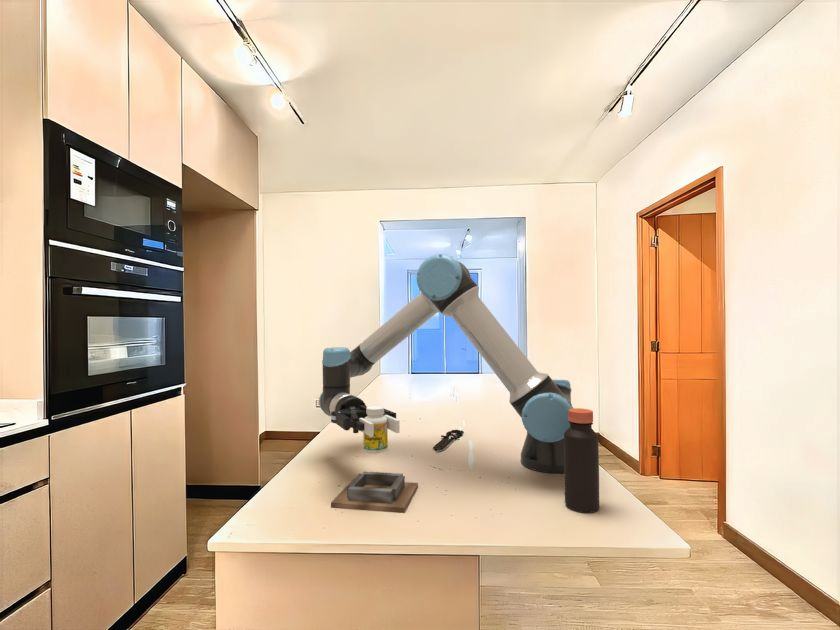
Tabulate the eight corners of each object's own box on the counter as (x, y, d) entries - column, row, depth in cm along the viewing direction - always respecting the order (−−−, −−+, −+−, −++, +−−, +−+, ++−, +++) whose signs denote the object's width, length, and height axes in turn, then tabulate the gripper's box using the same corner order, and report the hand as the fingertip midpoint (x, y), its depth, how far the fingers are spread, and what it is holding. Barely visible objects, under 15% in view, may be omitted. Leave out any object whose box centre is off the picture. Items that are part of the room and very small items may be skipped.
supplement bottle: (389, 447, 101) (389, 405, 101) (385, 454, 95) (385, 410, 95) (366, 446, 101) (366, 405, 101) (361, 453, 96) (360, 409, 96)
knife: (440, 454, 130) (440, 450, 130) (421, 452, 132) (421, 447, 132) (468, 434, 152) (468, 430, 152) (451, 432, 155) (451, 428, 155)
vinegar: (578, 515, 87) (576, 414, 88) (558, 502, 94) (556, 408, 94) (606, 510, 89) (605, 412, 89) (585, 498, 96) (583, 406, 96)
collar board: (418, 487, 103) (417, 472, 103) (404, 512, 90) (404, 495, 90) (353, 483, 106) (353, 468, 106) (331, 507, 93) (330, 490, 93)
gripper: (380, 420, 118) (422, 440, 98) (313, 428, 109) (344, 452, 89) (380, 392, 118) (422, 406, 98) (313, 398, 110) (343, 415, 89)
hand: (385, 428), depth 94 cm, fingers closed on supplement bottle, 5 cm apart
